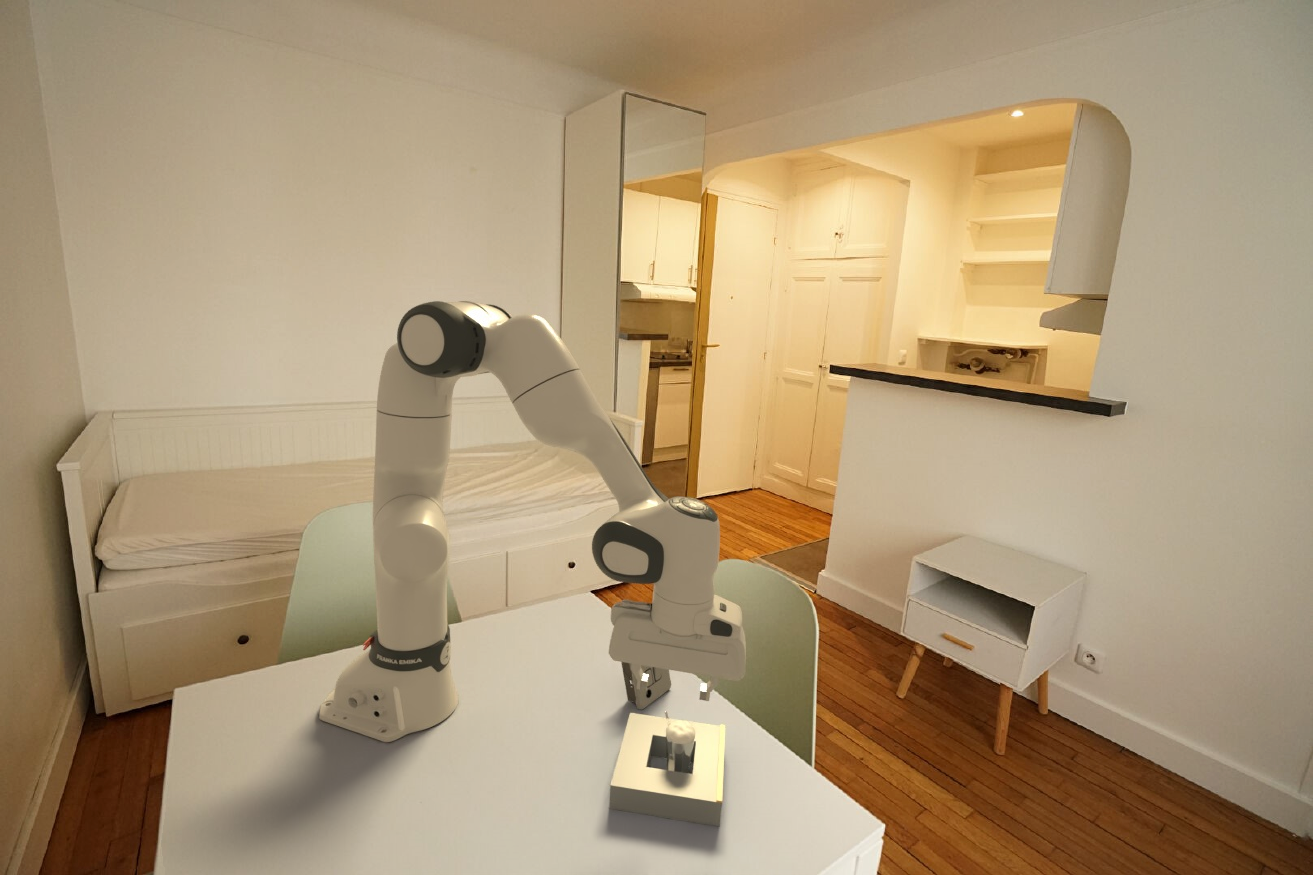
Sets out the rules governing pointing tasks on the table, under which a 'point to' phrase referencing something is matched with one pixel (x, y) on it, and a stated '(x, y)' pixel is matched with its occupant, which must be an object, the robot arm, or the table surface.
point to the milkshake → (679, 745)
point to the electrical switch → (656, 686)
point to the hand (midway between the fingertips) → (673, 692)
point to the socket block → (669, 773)
